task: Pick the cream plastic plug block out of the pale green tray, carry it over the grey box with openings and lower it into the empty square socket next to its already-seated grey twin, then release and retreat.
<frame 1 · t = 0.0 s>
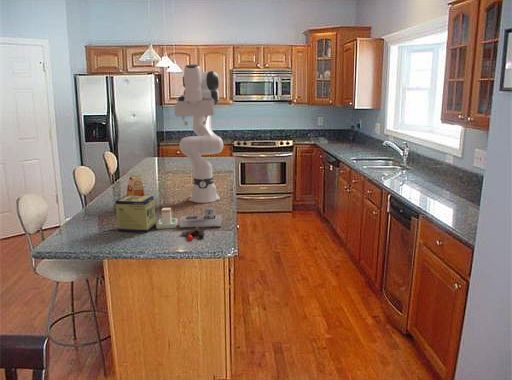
hand: (195, 125, 226), 48 cm above the countertop, fingers open, 8 cm apart
tray: (167, 225, 219), on the countertop
plug: (167, 224, 219), resting on tray
protein box: (137, 229, 215), on the countertop
milk carton: (137, 208, 254), on the countertop
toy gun: (191, 238, 201), on the countertop
grey box with openings: (201, 225, 218), on the countertop
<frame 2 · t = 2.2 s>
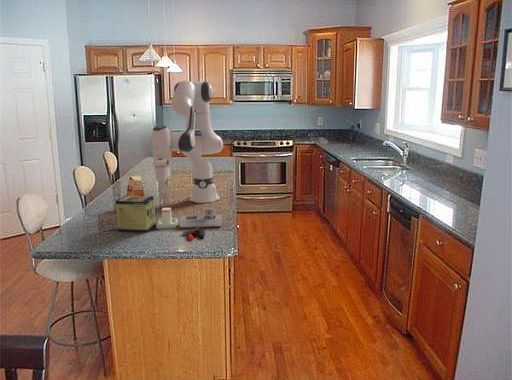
hand: (164, 187, 215), 19 cm above the countertop, fingers open, 8 cm apart
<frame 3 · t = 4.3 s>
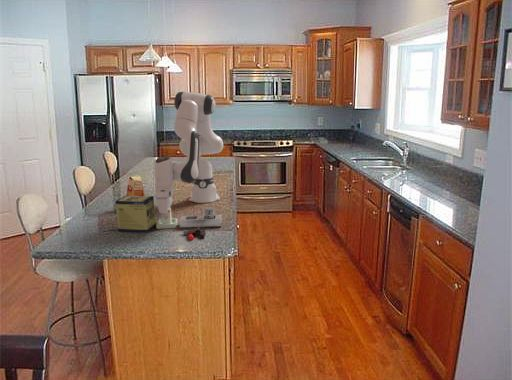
hand: (166, 217, 218), 4 cm above the countertop, fingers closed on plug, 4 cm apart
plug: (167, 224, 219), point 1 cm above the countertop, touching gripper, tray
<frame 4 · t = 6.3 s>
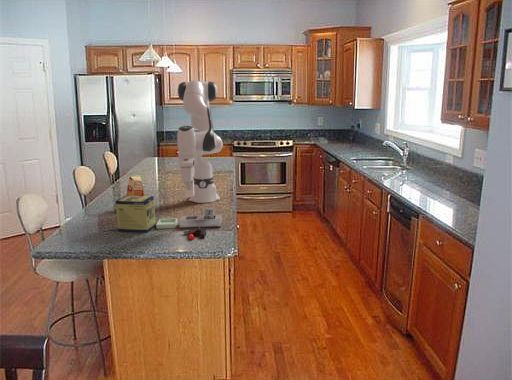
hand: (189, 188, 213), 19 cm above the countertop, fingers closed on plug, 4 cm apart
plug: (189, 195, 214), point 15 cm above the countertop, touching gripper
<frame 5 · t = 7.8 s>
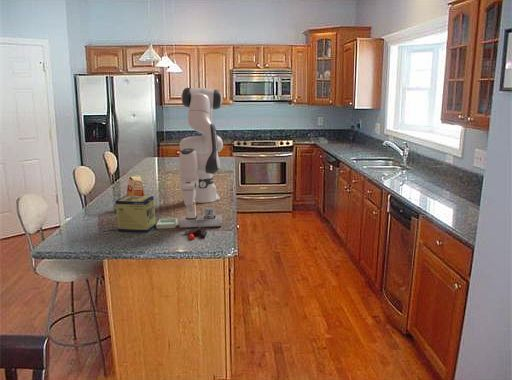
hand: (191, 209, 216), 8 cm above the countertop, fingers closed on plug, 4 cm apart
plug: (191, 216, 217), point 4 cm above the countertop, touching gripper
when the fingers open (5 cm above the countertop, at t = 8.8 s): plug stays where it is, resting on grey box with openings.
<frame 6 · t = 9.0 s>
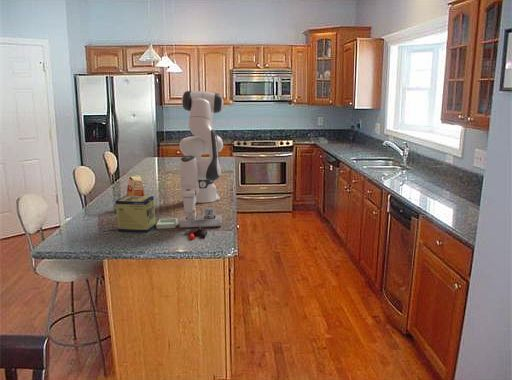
hand: (191, 216, 217), 5 cm above the countertop, fingers open, 6 cm apart
plug: (192, 224, 218), resting on grey box with openings
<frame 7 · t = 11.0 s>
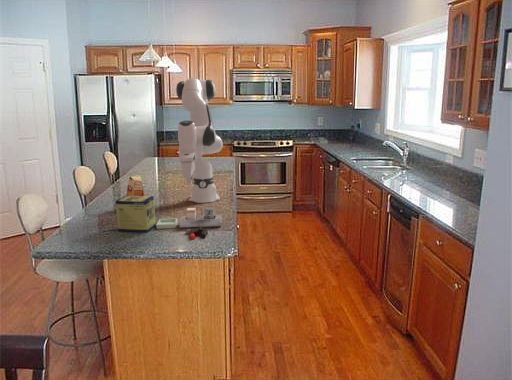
hand: (189, 182, 215), 21 cm above the countertop, fingers open, 8 cm apart
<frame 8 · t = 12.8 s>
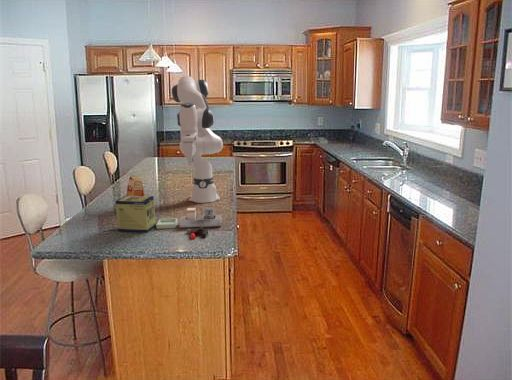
hand: (191, 163, 223), 29 cm above the countertop, fingers open, 8 cm apart
at the end: plug 0.1 cm from the target spot on the grey box with openings, point 0.5 cm above the grey box with openings's base; plug tilted 0°; the gripper is holding nothing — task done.
